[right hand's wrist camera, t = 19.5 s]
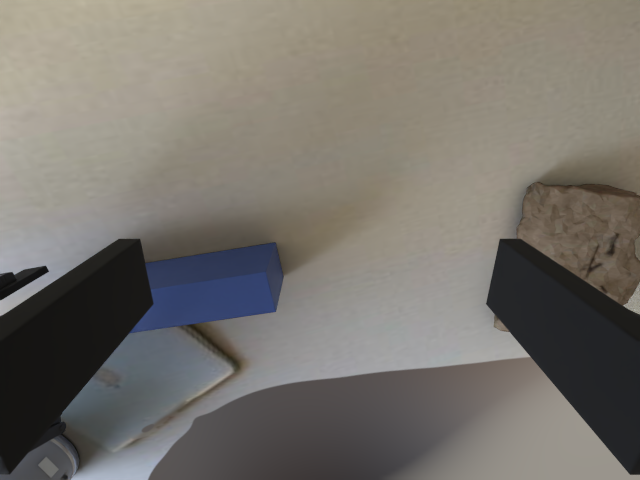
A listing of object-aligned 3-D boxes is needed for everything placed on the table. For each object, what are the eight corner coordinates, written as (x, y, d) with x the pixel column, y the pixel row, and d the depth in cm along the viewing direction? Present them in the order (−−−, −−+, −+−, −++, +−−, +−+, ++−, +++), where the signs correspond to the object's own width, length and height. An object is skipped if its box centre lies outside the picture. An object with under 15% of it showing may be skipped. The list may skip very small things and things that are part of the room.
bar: (275, 242, 46) (265, 271, 38) (283, 276, 48) (276, 312, 40) (70, 274, 48) (18, 309, 39) (86, 307, 50) (40, 346, 41)
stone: (601, 338, 47) (629, 361, 42) (488, 322, 50) (499, 341, 45) (639, 186, 43) (677, 189, 37) (512, 179, 46) (529, 180, 40)
